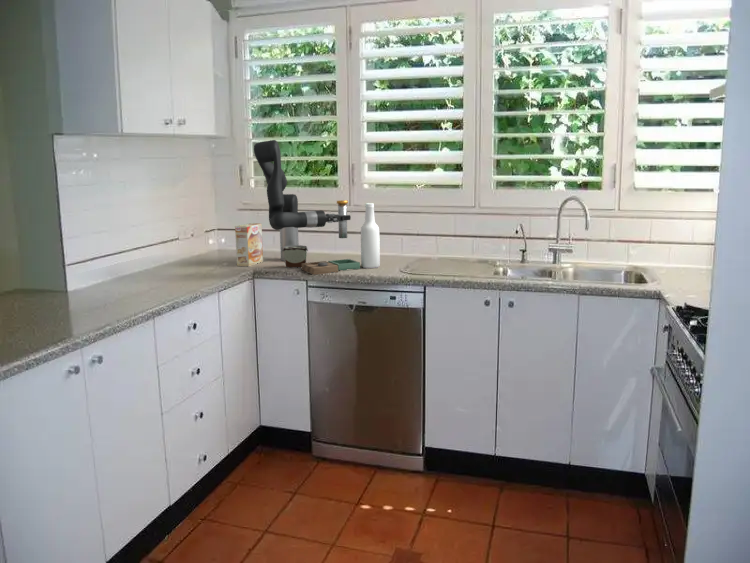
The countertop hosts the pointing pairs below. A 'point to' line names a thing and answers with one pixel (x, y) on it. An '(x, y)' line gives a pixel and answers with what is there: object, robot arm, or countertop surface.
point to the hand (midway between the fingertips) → (348, 217)
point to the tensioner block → (319, 267)
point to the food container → (295, 255)
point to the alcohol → (370, 240)
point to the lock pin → (342, 224)
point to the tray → (346, 264)
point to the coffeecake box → (249, 244)
